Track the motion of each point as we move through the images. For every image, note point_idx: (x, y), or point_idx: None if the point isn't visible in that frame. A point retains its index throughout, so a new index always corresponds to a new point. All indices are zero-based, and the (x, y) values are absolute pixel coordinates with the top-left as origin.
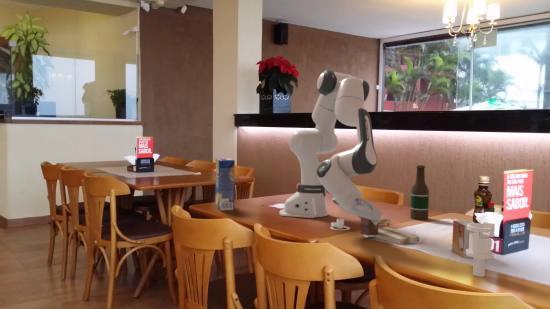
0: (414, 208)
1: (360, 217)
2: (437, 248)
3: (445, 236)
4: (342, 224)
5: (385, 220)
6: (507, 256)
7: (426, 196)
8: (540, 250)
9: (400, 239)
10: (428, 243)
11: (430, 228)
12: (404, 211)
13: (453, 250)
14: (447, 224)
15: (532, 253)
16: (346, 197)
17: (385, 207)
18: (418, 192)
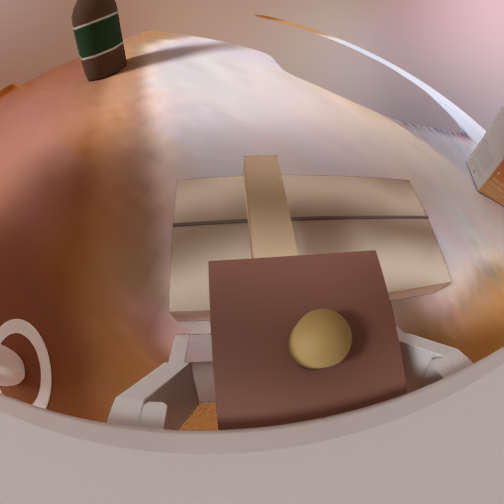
0: (97, 53)
1: (184, 415)
2: (460, 200)
3: (317, 96)
4: (12, 368)
5: (283, 200)
6: (476, 140)
7: (117, 13)
8: (424, 85)
9: (448, 276)
10: (409, 179)
11: (208, 78)
12: (47, 82)
13: (485, 192)
14: (191, 52)
15: (446, 103)
16: None
17: (6, 104)
18: (99, 11)
